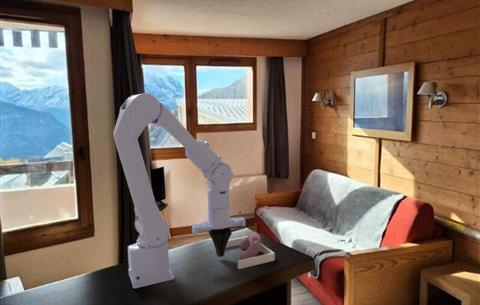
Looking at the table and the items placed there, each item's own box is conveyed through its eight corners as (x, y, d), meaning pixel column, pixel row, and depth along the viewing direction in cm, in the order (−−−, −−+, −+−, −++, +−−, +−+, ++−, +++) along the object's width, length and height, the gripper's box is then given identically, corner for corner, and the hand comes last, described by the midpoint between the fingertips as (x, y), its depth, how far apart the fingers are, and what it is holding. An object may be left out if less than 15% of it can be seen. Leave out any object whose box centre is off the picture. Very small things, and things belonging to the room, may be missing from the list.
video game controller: (254, 268, 90) (265, 245, 89) (238, 261, 90) (250, 238, 89) (252, 252, 100) (262, 231, 99) (238, 246, 100) (248, 225, 99)
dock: (238, 269, 86) (238, 261, 86) (218, 248, 99) (218, 241, 99) (274, 260, 91) (274, 253, 91) (250, 241, 104) (250, 235, 103)
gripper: (237, 198, 97) (238, 244, 98) (187, 206, 90) (189, 254, 92) (248, 205, 90) (249, 254, 92) (196, 213, 84) (197, 265, 86)
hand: (220, 255), depth 92 cm, fingers closed
